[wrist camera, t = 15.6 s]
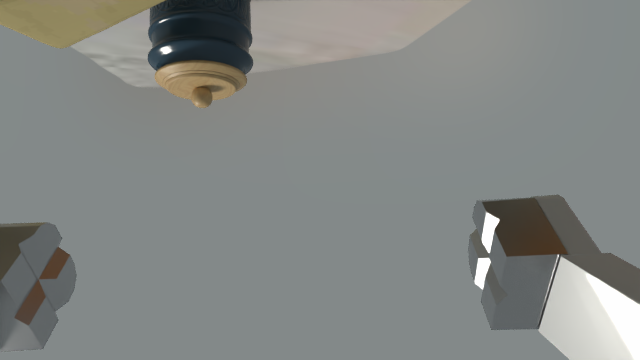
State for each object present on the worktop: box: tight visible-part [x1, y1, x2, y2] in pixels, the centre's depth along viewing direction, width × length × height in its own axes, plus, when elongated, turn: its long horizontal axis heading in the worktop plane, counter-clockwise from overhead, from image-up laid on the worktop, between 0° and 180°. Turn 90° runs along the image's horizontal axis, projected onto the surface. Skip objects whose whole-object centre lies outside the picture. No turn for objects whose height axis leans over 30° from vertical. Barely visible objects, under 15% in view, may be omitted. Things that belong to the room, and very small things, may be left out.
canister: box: [148, 0, 253, 108], centre depth 63 cm, size 13×13×18 cm
